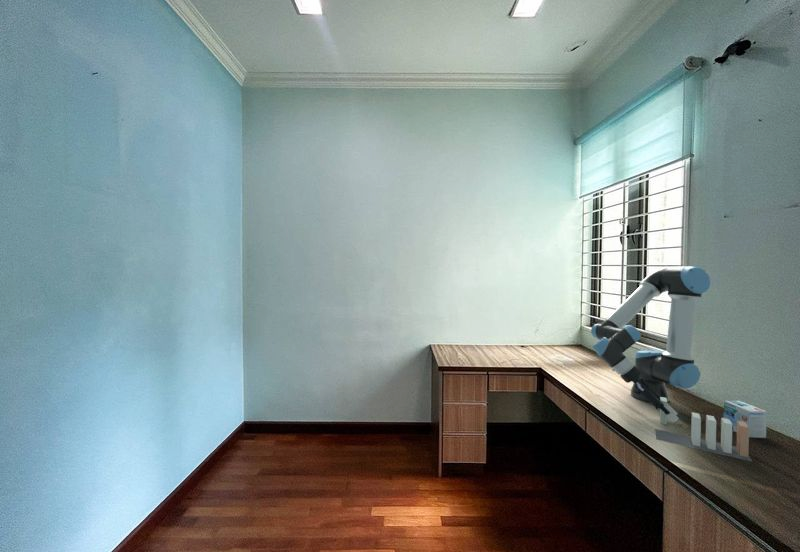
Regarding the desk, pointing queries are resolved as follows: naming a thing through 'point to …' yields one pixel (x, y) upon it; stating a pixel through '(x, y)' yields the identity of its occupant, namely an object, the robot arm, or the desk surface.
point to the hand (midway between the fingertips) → (675, 417)
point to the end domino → (742, 438)
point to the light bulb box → (746, 417)
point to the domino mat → (687, 442)
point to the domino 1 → (662, 416)
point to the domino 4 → (726, 435)
